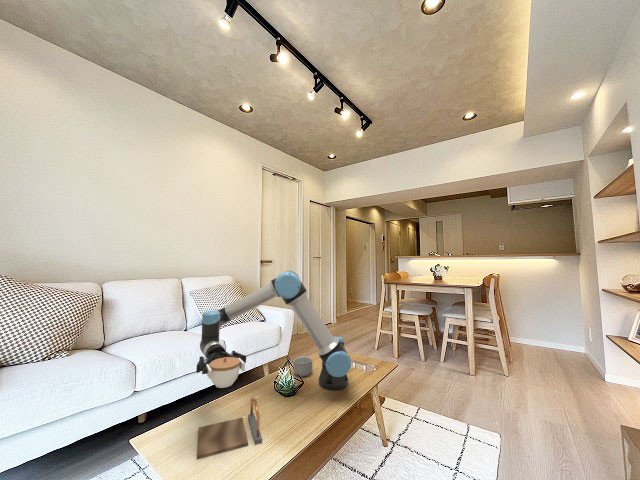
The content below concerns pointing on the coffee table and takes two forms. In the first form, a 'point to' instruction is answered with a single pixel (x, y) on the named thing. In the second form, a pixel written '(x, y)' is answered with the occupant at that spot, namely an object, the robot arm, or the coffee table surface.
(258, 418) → the buzz wire
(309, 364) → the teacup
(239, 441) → the pad
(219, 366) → the lidded jar
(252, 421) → the wire stand
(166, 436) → the coffee table surface
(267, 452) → the coffee table surface
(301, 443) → the coffee table surface
